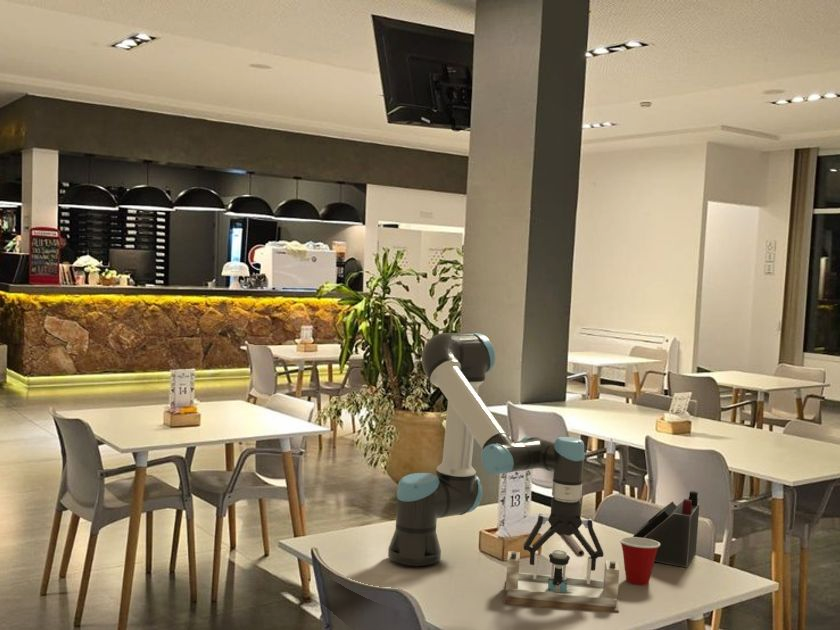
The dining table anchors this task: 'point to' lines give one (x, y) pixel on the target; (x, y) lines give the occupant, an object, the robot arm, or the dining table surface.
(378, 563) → the dining table surface
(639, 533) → the dark desk organizer
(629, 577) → the plastic cup
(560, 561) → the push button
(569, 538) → the metal rod
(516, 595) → the board
